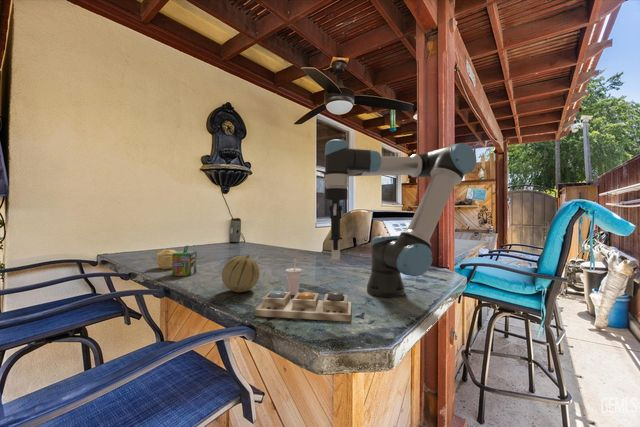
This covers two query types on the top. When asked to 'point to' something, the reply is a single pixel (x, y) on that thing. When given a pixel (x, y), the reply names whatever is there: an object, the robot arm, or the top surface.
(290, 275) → the smoothie
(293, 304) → the button panel
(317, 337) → the top surface
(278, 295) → the blue button
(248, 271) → the cantaloupe
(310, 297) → the orange button
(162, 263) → the sculpture
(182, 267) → the chalk box
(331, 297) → the charcoal button
